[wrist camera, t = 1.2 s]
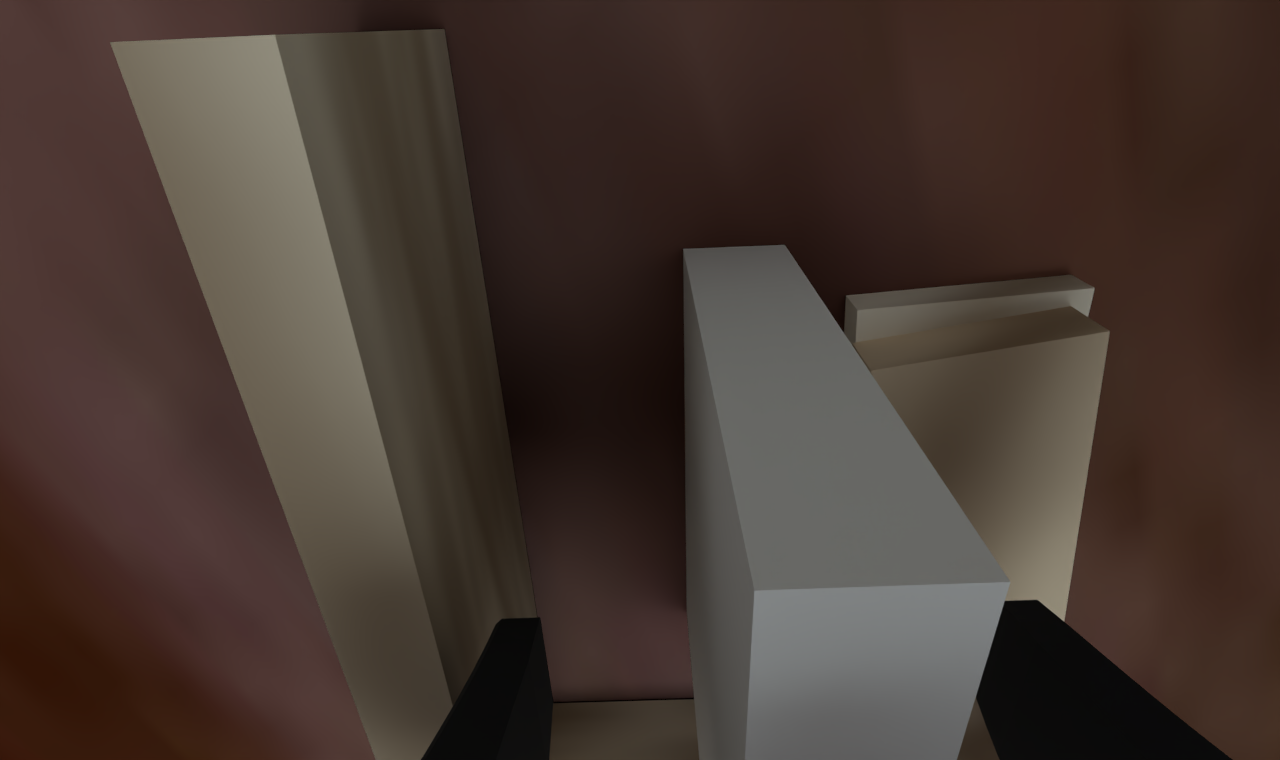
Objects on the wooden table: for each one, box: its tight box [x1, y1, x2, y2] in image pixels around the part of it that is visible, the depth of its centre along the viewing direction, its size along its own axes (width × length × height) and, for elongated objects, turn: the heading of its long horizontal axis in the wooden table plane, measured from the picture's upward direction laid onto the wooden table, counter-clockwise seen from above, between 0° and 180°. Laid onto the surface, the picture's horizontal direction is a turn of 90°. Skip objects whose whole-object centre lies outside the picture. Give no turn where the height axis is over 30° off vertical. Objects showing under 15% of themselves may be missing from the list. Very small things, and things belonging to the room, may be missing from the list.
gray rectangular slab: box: [683, 245, 1010, 760], centre depth 12 cm, size 2×10×9 cm, turn 2°
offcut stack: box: [844, 275, 1110, 621], centre depth 15 cm, size 5×8×2 cm, turn 6°
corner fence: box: [110, 29, 1000, 760], centre depth 13 cm, size 14×19×6 cm
